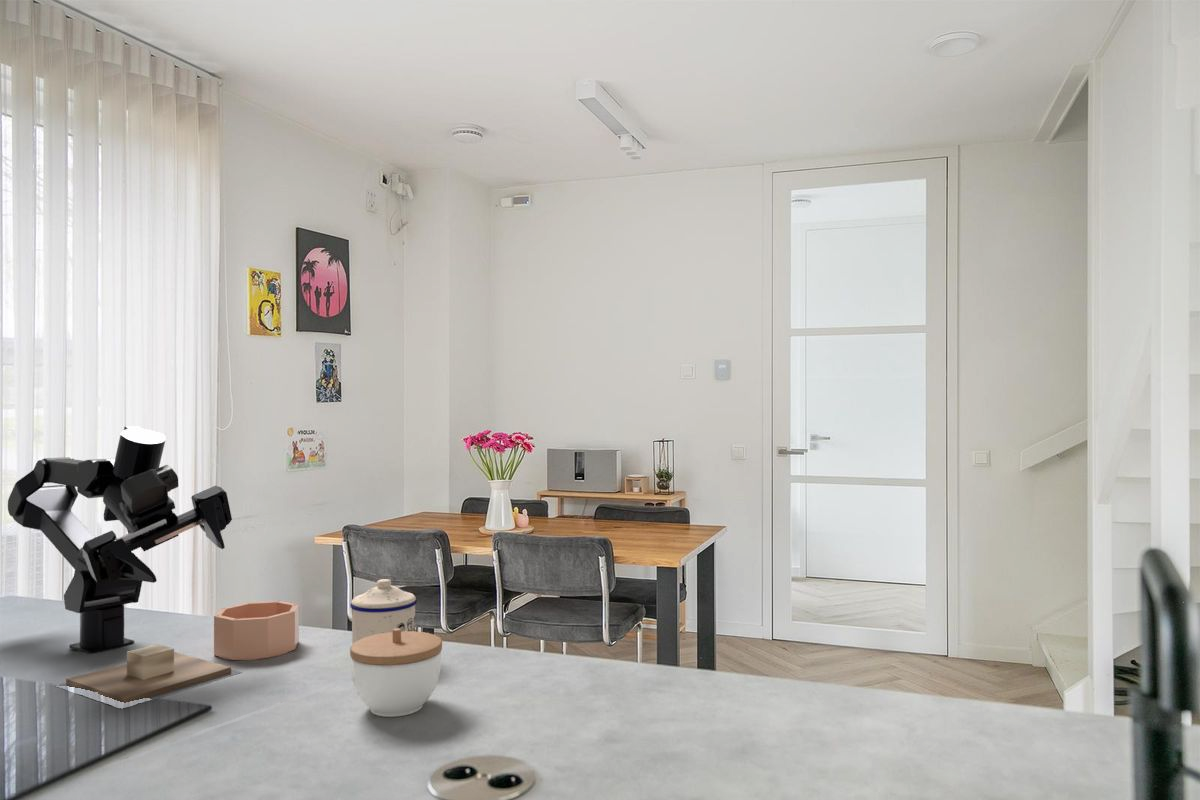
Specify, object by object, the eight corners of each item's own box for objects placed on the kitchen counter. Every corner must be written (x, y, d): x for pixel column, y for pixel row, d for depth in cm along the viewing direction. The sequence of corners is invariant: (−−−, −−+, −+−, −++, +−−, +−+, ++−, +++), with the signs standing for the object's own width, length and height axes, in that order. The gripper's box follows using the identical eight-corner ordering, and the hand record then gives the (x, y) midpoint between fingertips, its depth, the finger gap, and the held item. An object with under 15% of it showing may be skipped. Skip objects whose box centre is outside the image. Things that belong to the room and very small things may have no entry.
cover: (66, 685, 105) (66, 655, 105) (171, 656, 117) (171, 630, 117) (125, 705, 97) (125, 673, 97) (231, 673, 109) (231, 644, 109)
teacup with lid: (400, 674, 109) (399, 588, 109) (338, 670, 111) (338, 585, 111) (434, 649, 121) (434, 571, 121) (378, 646, 123) (378, 569, 123)
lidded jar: (419, 728, 91) (419, 644, 91) (332, 721, 93) (332, 639, 93) (455, 695, 101) (455, 620, 101) (376, 689, 103) (376, 616, 104)
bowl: (200, 654, 119) (200, 613, 119) (266, 636, 128) (266, 598, 128) (247, 666, 113) (247, 623, 113) (312, 646, 122) (312, 607, 122)
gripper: (50, 491, 106) (100, 550, 98) (191, 437, 119) (246, 485, 110) (73, 554, 112) (122, 615, 104) (205, 496, 125) (258, 546, 116)
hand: (189, 562), depth 109 cm, fingers open, 9 cm apart
